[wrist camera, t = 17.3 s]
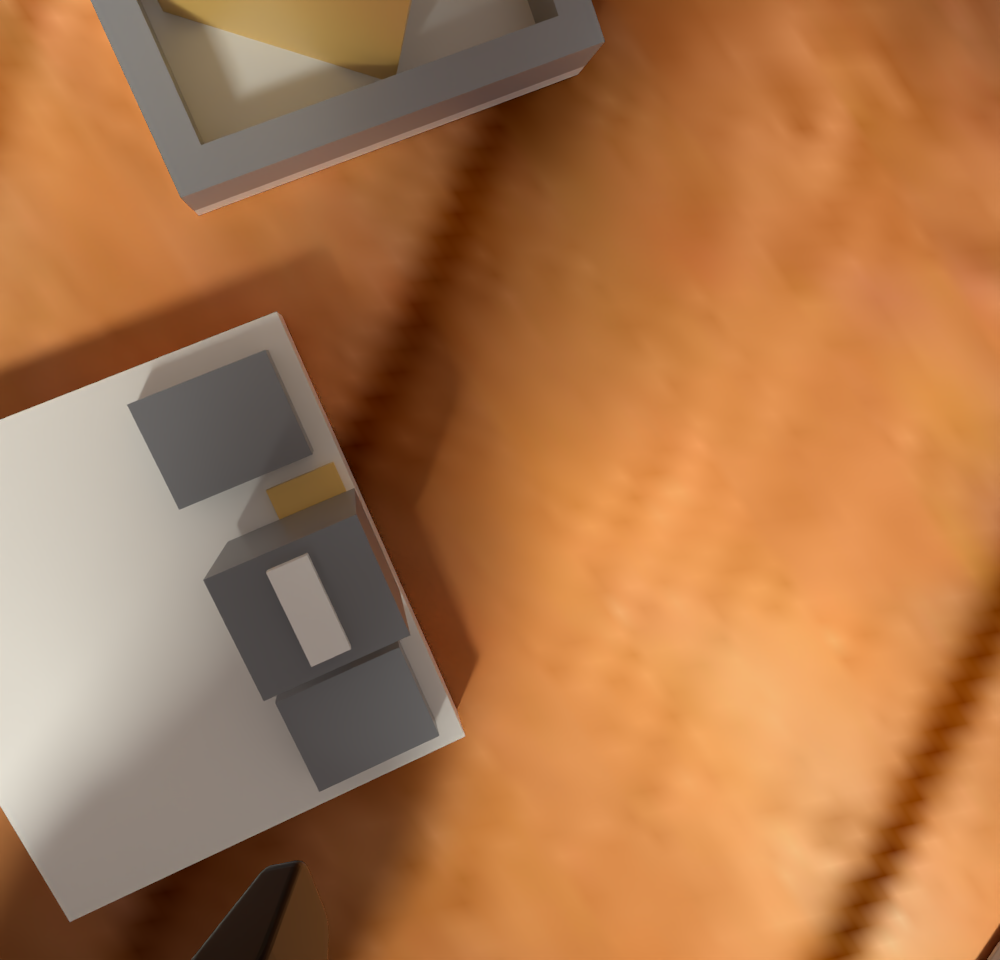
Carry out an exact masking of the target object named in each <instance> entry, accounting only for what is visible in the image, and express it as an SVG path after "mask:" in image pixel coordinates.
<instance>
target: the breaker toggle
mask: <svg viewBox="0 0 1000 960" xmlns="http://www.w3.org/2000/svg"><path fill="white" fill-rule="evenodd" d="M203 581H204V583H205V585H206V587H207V589H208V591H209V593H210V595H211V597H212V599H213V601H214V603H215V605H216V607H217V609H218V611H219V613H220V615H221V617H222V619H223V621H224V623H225V625H226V627H227V629H228V631H229V633H230V635H231V637H232V639H233V641H234V643H235V645H236V647H237V649H238V651H239V653H240V655H241V657H242V659H243V661H244V663H245V665H246V667H247V669H248V671H249V673H250V675H251V677H252V679H253V681H254V683H255V685H256V687H257V689H258V691H259V693H260V695H261V697H262V699H263V701H265V700H268V699H270V698H272V697H274V696H277V695H279V694H281V693H283V692H286V691H288V690H290V689H292V688H294V687H297V686H299V685H301V684H303V683H306V682H308V681H310V680H312V679H314V678H317V677H319V676H321V675H323V674H326V673H328V672H330V671H332V670H334V669H337V668H339V667H341V666H343V665H346V664H348V663H350V662H352V661H354V660H357V659H359V658H361V657H363V656H366V655H368V654H370V653H372V652H374V651H377V650H379V649H381V648H383V647H386V646H388V645H390V644H392V643H394V642H397V641H399V640H401V639H403V638H406V637H408V636H410V631H409V627H408V623H407V619H406V615H405V611H404V606H403V602H402V598H401V594H400V590H399V587H398V585H397V583H396V581H395V578H394V576H393V574H392V572H391V569H390V567H389V565H388V563H387V560H386V558H385V556H384V554H383V551H382V549H381V547H380V545H379V542H378V540H377V538H376V536H375V533H374V531H373V529H372V527H371V524H370V522H369V520H368V518H367V515H366V513H365V511H364V509H363V506H362V504H361V502H360V500H359V497H358V495H357V493H356V491H355V488H353V489H351V490H348V491H346V492H344V493H341V494H339V495H336V496H334V497H332V498H329V499H327V500H325V501H322V502H320V503H318V504H315V505H313V506H310V507H308V508H306V509H303V510H301V511H299V512H296V513H294V514H292V515H289V516H287V517H284V518H282V519H280V520H277V521H275V522H273V523H270V524H268V525H266V526H263V527H261V528H259V529H256V530H254V531H251V532H249V533H247V534H244V535H242V536H240V537H237V538H235V539H233V540H230V541H228V542H227V543H226V545H225V546H224V548H223V550H222V551H221V553H220V554H219V556H218V557H217V559H216V561H215V562H214V564H213V565H212V567H211V568H210V570H209V572H208V573H207V575H206V576H205V578H204V579H203Z"/></svg>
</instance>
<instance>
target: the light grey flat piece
mask: <svg viewBox="0 0 1000 960" xmlns="http://www.w3.org/2000/svg"><path fill="white" fill-rule="evenodd" d="M353 488H355V491H356V493H357V495H358V497H359V500H360V502H361V504H362V506H363V509H364V511H365V513H366V515H367V518H368V520H369V522H370V524H371V527H372V529H373V531H374V533H375V536H376V538H377V540H378V542H379V545H380V547H381V549H382V551H383V554H384V556H385V558H386V560H387V563H388V565H389V567H390V569H391V572H392V574H393V576H394V578H395V581H396V583H397V585H398V587H399V590H400V594H401V598H402V602H403V606H404V611H405V615H406V619H407V623H408V627H409V631H410V636H408V637H406V638H403V639H401V640H399V641H397V642H394V643H392V644H390V645H388V646H386V647H383V648H381V649H379V650H377V651H374V652H372V653H370V654H368V655H366V656H363V657H361V658H359V659H357V660H354V661H352V662H350V663H348V664H346V665H343V666H341V667H339V668H337V669H334V670H332V671H330V672H328V673H326V674H323V675H321V676H319V677H317V678H314V679H312V680H310V681H308V682H306V683H303V684H301V685H299V686H297V687H294V688H292V689H290V690H288V691H286V692H283V693H281V694H279V695H277V696H274V697H272V698H270V699H268V700H265V701H263V699H262V697H261V695H260V693H259V691H258V689H257V687H256V685H255V683H254V681H253V679H252V677H251V675H250V673H249V671H248V669H247V667H246V665H245V663H244V661H243V659H242V657H241V655H240V653H239V651H238V649H237V647H236V645H235V643H234V641H233V639H232V637H231V635H230V633H229V631H228V629H227V627H226V625H225V623H224V621H223V619H222V617H221V615H220V613H219V611H218V609H217V607H216V605H215V603H214V601H213V599H212V597H211V595H210V593H209V591H208V589H207V587H206V585H205V583H204V581H203V579H204V578H205V576H206V575H207V573H208V572H209V570H210V568H211V567H212V565H213V564H214V562H215V561H216V559H217V557H218V556H219V554H220V553H221V551H222V550H223V548H224V546H225V545H226V543H227V542H228V541H230V540H233V539H235V538H237V537H240V536H242V535H244V534H247V533H249V532H251V531H254V530H256V529H259V528H261V527H263V526H266V525H268V524H270V523H273V522H275V521H277V520H280V519H282V518H284V517H287V516H289V515H292V514H294V513H296V512H299V511H301V510H303V509H306V508H308V507H310V506H313V505H315V504H318V503H320V502H322V501H325V500H327V499H329V498H332V497H334V496H336V495H339V494H341V493H344V492H346V491H348V490H351V489H353ZM463 737H465V734H464V731H463V727H462V724H461V721H460V718H459V715H458V712H457V709H456V707H455V705H454V702H453V700H452V698H451V696H450V693H449V691H448V689H447V687H446V684H445V682H444V680H443V678H442V675H441V673H440V671H439V669H438V666H437V664H436V662H435V660H434V657H433V655H432V653H431V651H430V648H429V646H428V644H427V642H426V639H425V637H424V635H423V633H422V630H421V628H420V626H419V624H418V621H417V619H416V617H415V615H414V612H413V610H412V608H411V605H410V603H409V601H408V599H407V596H406V594H405V592H404V590H403V587H402V585H401V583H400V581H399V578H398V576H397V574H396V572H395V569H394V567H393V565H392V563H391V560H390V558H389V556H388V554H387V551H386V549H385V547H384V545H383V542H382V540H381V538H380V536H379V533H378V531H377V529H376V527H375V524H374V522H373V520H372V518H371V515H370V513H369V511H368V509H367V506H366V504H365V502H364V499H363V497H362V495H361V493H360V490H359V488H358V486H357V484H356V481H355V479H354V477H353V475H352V472H351V470H350V468H349V466H348V463H347V461H346V459H345V457H344V454H343V452H342V450H341V448H340V445H339V443H338V441H337V439H336V436H335V434H334V432H333V430H332V427H331V425H330V423H329V421H328V418H327V416H326V414H325V412H324V409H323V407H322V405H321V403H320V400H319V398H318V396H317V393H316V391H315V389H314V387H313V384H312V382H311V380H310V378H309V375H308V373H307V371H306V369H305V366H304V364H303V362H302V360H301V357H300V355H299V353H298V351H297V348H296V346H295V344H294V342H293V339H292V337H291V335H290V333H289V330H288V328H287V326H286V324H285V321H284V319H283V317H282V315H281V314H279V313H278V312H277V311H276V312H274V313H271V314H269V315H266V316H264V317H261V318H259V319H256V320H253V321H251V322H248V323H246V324H243V325H241V326H238V327H236V328H233V329H230V330H228V331H225V332H223V333H220V334H218V335H215V336H213V337H210V338H207V339H205V340H202V341H200V342H197V343H195V344H192V345H190V346H187V347H184V348H182V349H179V350H177V351H174V352H172V353H169V354H167V355H164V356H161V357H159V358H156V359H154V360H151V361H149V362H146V363H144V364H141V365H138V366H136V367H133V368H131V369H128V370H126V371H123V372H121V373H118V374H115V375H113V376H110V377H108V378H105V379H103V380H100V381H98V382H95V383H92V384H90V385H87V386H85V387H82V388H80V389H77V390H75V391H72V392H69V393H67V394H64V395H62V396H59V397H57V398H54V399H52V400H49V401H46V402H44V403H41V404H39V405H36V406H34V407H31V408H29V409H26V410H23V411H21V412H18V413H16V414H13V415H11V416H8V417H6V418H3V419H0V806H1V808H2V810H3V811H4V813H5V815H6V816H7V818H8V820H9V821H10V823H11V825H12V826H13V828H14V830H15V831H16V833H17V835H18V836H19V838H20V840H21V841H22V843H23V845H24V846H25V848H26V850H27V851H28V853H29V855H30V856H31V858H32V860H33V862H34V863H35V865H36V867H37V868H38V870H39V872H40V873H41V875H42V877H43V878H44V880H45V882H46V883H47V885H48V887H49V888H50V890H51V892H52V893H53V895H54V897H55V898H56V900H57V902H58V903H59V905H60V907H61V908H62V910H63V912H64V913H65V915H66V917H67V918H68V920H69V922H71V921H73V920H75V919H77V918H80V917H82V916H84V915H86V914H88V913H90V912H92V911H94V910H97V909H99V908H101V907H103V906H105V905H107V904H109V903H111V902H114V901H116V900H118V899H120V898H122V897H124V896H126V895H129V894H131V893H133V892H135V891H137V890H139V889H141V888H143V887H146V886H148V885H150V884H152V883H154V882H156V881H158V880H160V879H163V878H165V877H167V876H169V875H171V874H173V873H175V872H177V871H180V870H182V869H184V868H186V867H188V866H190V865H192V864H195V863H197V862H199V861H201V860H203V859H205V858H207V857H209V856H212V855H214V854H216V853H218V852H220V851H222V850H224V849H226V848H229V847H231V846H233V845H235V844H237V843H239V842H241V841H243V840H246V839H248V838H250V837H252V836H254V835H256V834H258V833H261V832H263V831H265V830H267V829H269V828H271V827H273V826H275V825H278V824H280V823H282V822H284V821H286V820H288V819H290V818H292V817H295V816H297V815H299V814H301V813H303V812H305V811H307V810H309V809H312V808H314V807H316V806H318V805H320V804H322V803H324V802H327V801H329V800H331V799H333V798H335V797H337V796H339V795H341V794H344V793H346V792H348V791H350V790H352V789H354V788H356V787H358V786H361V785H363V784H365V783H367V782H369V781H371V780H373V779H376V778H378V777H380V776H382V775H384V774H386V773H388V772H390V771H393V770H395V769H397V768H399V767H401V766H403V765H405V764H407V763H410V762H412V761H414V760H416V759H418V758H420V757H422V756H424V755H427V754H429V753H431V752H433V751H435V750H437V749H439V748H442V747H444V746H446V745H448V744H450V743H452V742H454V741H456V740H459V739H461V738H463Z"/></svg>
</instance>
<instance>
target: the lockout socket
mask: <svg viewBox="0 0 1000 960" xmlns="http://www.w3.org/2000/svg"><path fill="white" fill-rule="evenodd" d="M91 2H92V4H93V7H94V9H95V11H96V13H97V15H98V18H99V20H100V22H101V24H102V26H103V28H104V31H105V33H106V35H107V37H108V39H109V42H110V44H111V46H112V48H113V50H114V53H115V55H116V57H117V59H118V61H119V64H120V66H121V68H122V70H123V72H124V75H125V77H126V79H127V81H128V83H129V85H130V88H131V90H132V92H133V94H134V96H135V99H136V101H137V103H138V105H139V107H140V110H141V112H142V114H143V116H144V118H145V121H146V123H147V125H148V127H149V129H150V132H151V134H152V136H153V138H154V140H155V142H156V145H157V147H158V149H159V151H160V153H161V156H162V158H163V160H164V162H165V164H166V167H167V169H168V171H169V173H170V175H171V178H172V180H173V182H174V184H175V186H176V189H177V191H178V193H179V195H180V197H181V199H182V200H183V201H184V202H185V203H186V204H188V205H189V206H190V207H191V208H192V209H193V210H194V211H195V212H196V213H197V214H198V215H202V214H205V213H207V212H210V211H213V210H215V209H218V208H221V207H223V206H226V205H229V204H231V203H234V202H237V201H239V200H242V199H245V198H248V197H250V196H253V195H256V194H258V193H261V192H264V191H266V190H269V189H272V188H274V187H277V186H280V185H282V184H285V183H288V182H291V181H293V180H296V179H299V178H301V177H304V176H307V175H309V174H312V173H315V172H317V171H320V170H323V169H325V168H328V167H331V166H333V165H336V164H339V163H342V162H344V161H347V160H350V159H352V158H355V157H358V156H360V155H363V154H366V153H368V152H371V151H374V150H376V149H379V148H382V147H385V146H387V145H390V144H393V143H395V142H398V141H401V140H403V139H406V138H409V137H411V136H414V135H417V134H419V133H422V132H425V131H428V130H430V129H433V128H436V127H438V126H441V125H444V124H446V123H449V122H452V121H454V120H457V119H460V118H462V117H465V116H468V115H470V114H473V113H476V112H479V111H481V110H484V109H487V108H489V107H492V106H495V105H497V104H500V103H503V102H505V101H508V100H511V99H513V98H516V97H519V96H522V95H524V94H527V93H530V92H532V91H535V90H538V89H540V88H543V87H546V86H548V85H551V84H554V83H556V82H559V81H562V80H565V79H567V78H570V77H573V76H575V75H578V74H579V73H580V71H581V70H582V69H583V68H584V66H585V65H586V64H587V63H588V62H589V60H590V59H591V58H592V57H593V55H594V54H595V53H596V52H597V51H598V49H599V48H600V47H601V46H602V45H603V43H604V42H605V40H604V37H603V34H602V31H601V28H600V25H599V22H598V19H597V16H596V13H595V10H594V7H593V4H592V1H591V0H412V3H411V7H410V12H409V17H408V22H407V26H406V31H405V36H404V41H403V46H402V50H401V55H400V60H399V65H398V69H397V74H396V75H393V76H391V77H388V78H385V79H379V78H376V77H372V76H369V75H366V74H363V73H360V72H356V71H353V70H350V69H347V68H344V67H340V66H337V65H334V64H331V63H327V62H324V61H321V60H318V59H315V58H311V57H308V56H305V55H302V54H298V53H295V52H292V51H289V50H286V49H282V48H279V47H276V46H273V45H270V44H266V43H263V42H260V41H257V40H253V39H250V38H247V37H244V36H241V35H237V34H234V33H231V32H228V31H225V30H221V29H218V28H215V27H212V26H208V25H205V24H202V23H199V22H196V21H192V20H189V19H186V18H183V17H180V16H176V15H173V14H170V13H167V12H163V10H162V8H161V6H160V4H159V3H158V1H157V0H91Z"/></svg>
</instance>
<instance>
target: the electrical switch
mask: <svg viewBox="0 0 1000 960" xmlns="http://www.w3.org/2000/svg"><path fill="white" fill-rule="evenodd" d="M987 960H1000V941H999V942H998V944H997V945H996V947H995V948H994V950H993V951H992V953H991V954H990V956H989V957H988V959H987Z"/></svg>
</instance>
